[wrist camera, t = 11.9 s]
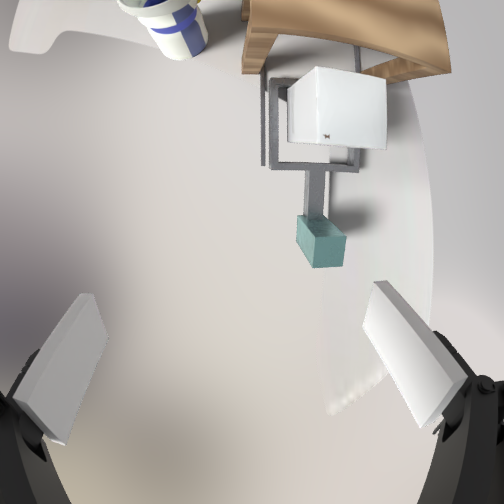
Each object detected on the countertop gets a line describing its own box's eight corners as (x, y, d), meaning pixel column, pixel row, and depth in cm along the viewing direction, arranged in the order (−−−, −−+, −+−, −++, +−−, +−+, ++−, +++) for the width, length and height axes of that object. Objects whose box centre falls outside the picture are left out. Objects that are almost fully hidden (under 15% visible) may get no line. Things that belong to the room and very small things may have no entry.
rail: (259, 6, 29) (259, 5, 29) (354, 19, 31) (355, 19, 30) (261, 165, 41) (261, 165, 40) (358, 168, 42) (359, 169, 41)
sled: (268, 80, 35) (280, 64, 26) (353, 89, 36) (384, 80, 27) (268, 242, 46) (278, 269, 37) (346, 239, 47) (371, 264, 38)
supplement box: (340, 145, 40) (388, 153, 27) (286, 142, 40) (315, 146, 26) (340, 92, 37) (388, 78, 23) (286, 87, 36) (314, 64, 22)
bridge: (241, 9, 30) (250, -60, 12) (369, 26, 31) (435, -10, 13) (241, 74, 35) (251, 26, 17) (373, 87, 36) (451, 72, 18)
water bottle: (183, 9, 29) (147, -83, 6) (221, 35, 32) (215, -60, 9) (146, 43, 31) (73, -27, 8) (183, 70, 34) (130, -1, 11)
